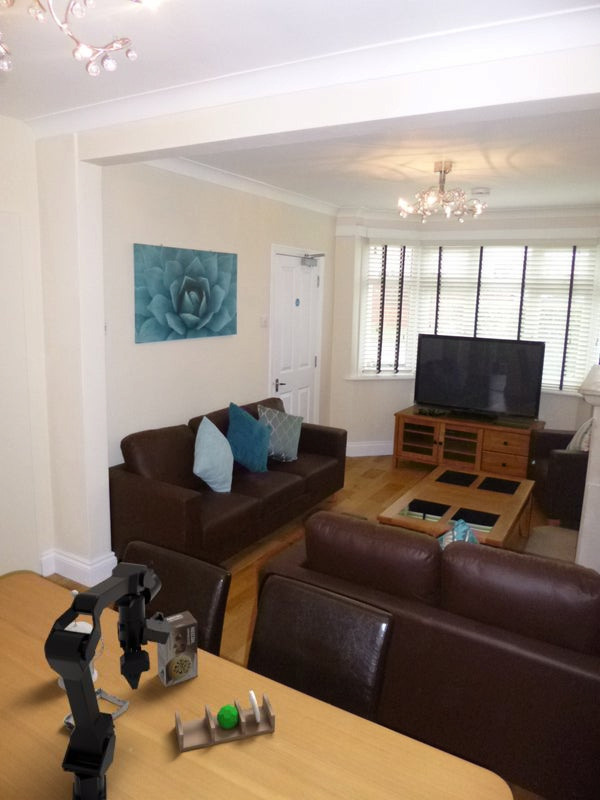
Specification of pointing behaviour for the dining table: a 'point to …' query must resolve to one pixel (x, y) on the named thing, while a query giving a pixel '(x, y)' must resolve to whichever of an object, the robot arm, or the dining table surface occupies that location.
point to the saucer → (254, 706)
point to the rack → (213, 733)
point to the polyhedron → (227, 716)
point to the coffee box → (179, 650)
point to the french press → (83, 628)
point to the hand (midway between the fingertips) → (133, 676)
